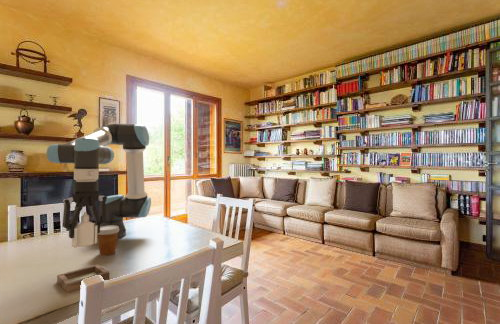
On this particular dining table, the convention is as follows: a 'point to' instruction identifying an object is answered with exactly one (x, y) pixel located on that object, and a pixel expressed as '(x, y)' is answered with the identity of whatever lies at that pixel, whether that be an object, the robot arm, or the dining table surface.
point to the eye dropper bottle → (85, 231)
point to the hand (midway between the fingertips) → (84, 244)
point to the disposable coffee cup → (108, 239)
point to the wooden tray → (80, 277)
